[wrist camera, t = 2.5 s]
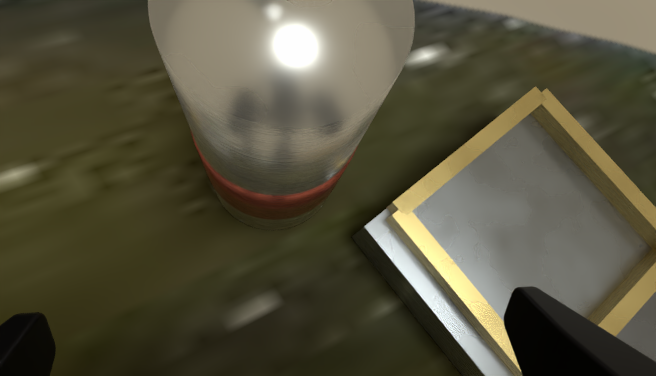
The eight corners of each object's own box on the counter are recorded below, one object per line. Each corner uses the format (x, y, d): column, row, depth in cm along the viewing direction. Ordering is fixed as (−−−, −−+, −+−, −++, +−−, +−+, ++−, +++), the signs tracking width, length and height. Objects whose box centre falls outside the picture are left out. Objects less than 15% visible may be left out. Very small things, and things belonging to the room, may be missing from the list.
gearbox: (776, 428, 23) (880, 452, 19) (651, 610, 20) (744, 682, 16) (498, 116, 25) (541, 81, 21) (350, 236, 22) (368, 221, 18)
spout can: (357, 183, 23) (525, -40, 8) (261, 256, 21) (258, 143, 7) (284, 94, 24) (320, -256, 9) (186, 159, 22) (34, -138, 7)
